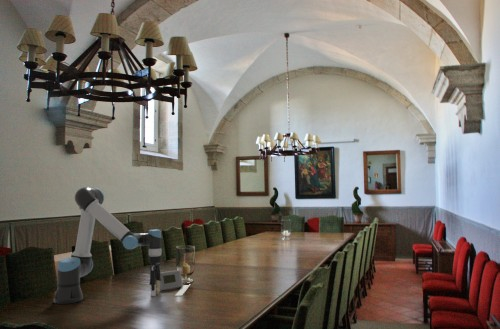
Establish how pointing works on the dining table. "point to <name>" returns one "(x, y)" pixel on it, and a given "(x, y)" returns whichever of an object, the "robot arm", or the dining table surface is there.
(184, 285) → the lath
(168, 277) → the digital clock
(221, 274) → the dining table surface
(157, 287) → the tan wooden block
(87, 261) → the robot arm
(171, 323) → the dining table surface
